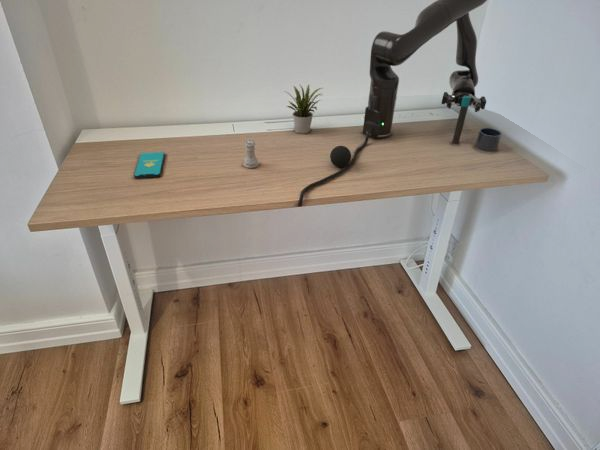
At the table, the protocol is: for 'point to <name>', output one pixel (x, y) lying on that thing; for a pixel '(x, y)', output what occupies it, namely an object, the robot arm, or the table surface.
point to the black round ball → (340, 156)
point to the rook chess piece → (250, 155)
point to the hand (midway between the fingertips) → (463, 107)
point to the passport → (149, 165)
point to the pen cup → (488, 139)
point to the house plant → (303, 110)
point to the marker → (461, 119)
